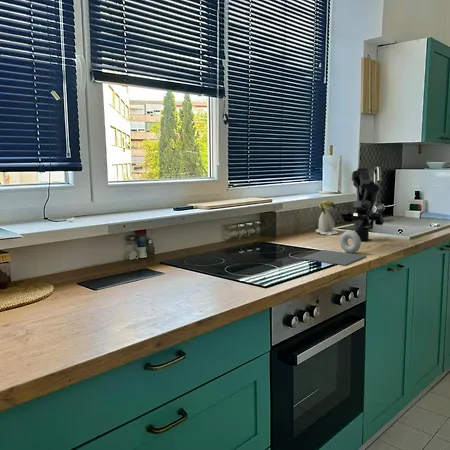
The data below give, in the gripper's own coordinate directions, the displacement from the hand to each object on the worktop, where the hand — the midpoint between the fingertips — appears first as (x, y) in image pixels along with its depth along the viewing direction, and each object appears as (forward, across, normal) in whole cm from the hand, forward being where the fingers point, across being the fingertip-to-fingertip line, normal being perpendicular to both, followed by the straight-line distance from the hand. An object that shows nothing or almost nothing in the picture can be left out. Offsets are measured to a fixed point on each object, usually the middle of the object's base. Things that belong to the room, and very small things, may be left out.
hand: (355, 232), depth 201 cm
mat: (+19, -1, -7) cm, 20 cm away
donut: (+10, 0, +2) cm, 10 cm away
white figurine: (-17, -32, +30) cm, 47 cm away
